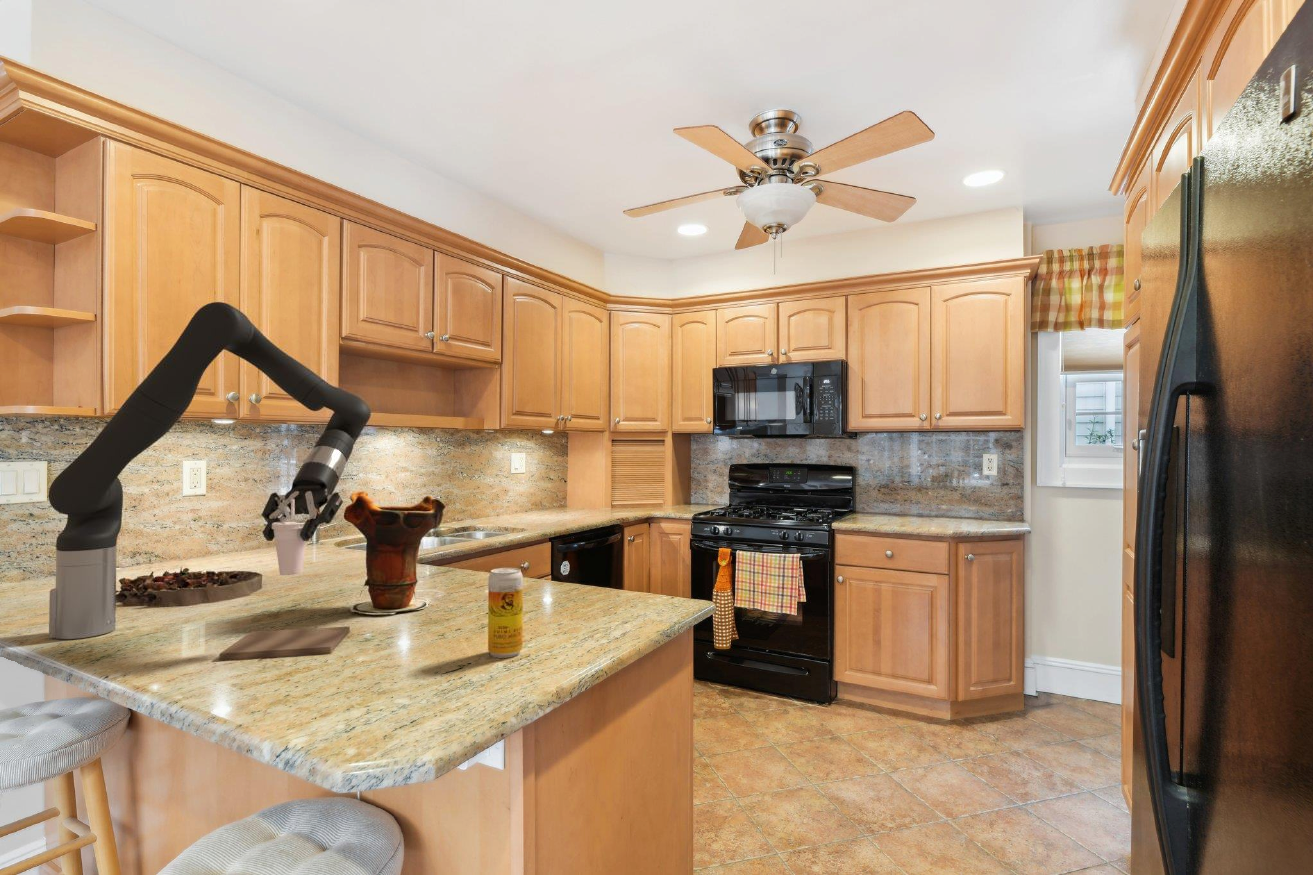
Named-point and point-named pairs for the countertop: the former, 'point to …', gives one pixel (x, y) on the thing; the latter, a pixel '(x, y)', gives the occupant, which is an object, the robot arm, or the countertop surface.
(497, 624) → the beer can
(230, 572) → the food dish
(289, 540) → the smoothie
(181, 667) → the countertop surface
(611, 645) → the countertop surface
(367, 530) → the decorative vase
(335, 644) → the walnut board
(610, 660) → the countertop surface
